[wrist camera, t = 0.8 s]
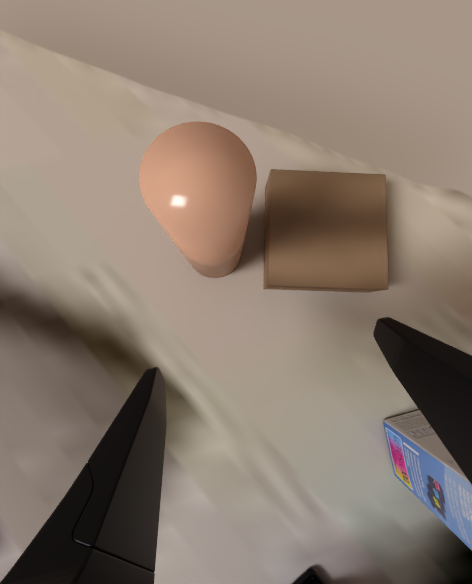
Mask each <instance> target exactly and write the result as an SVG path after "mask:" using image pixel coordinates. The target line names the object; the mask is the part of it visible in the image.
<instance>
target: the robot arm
mask: <svg viewBox="0 0 472 584" xmlns="http://www.w3.org/2000/svg"><path fill="white" fill-rule="evenodd" d="M374 338H375V340H376V342H377V344H378V346H379V347H380V349H381V351H382V353H383V355H384V356H385V358H386V360H387V362H388V364H389V366H390V367H391V369H392V371H393V372H394V374H395V375H396V377H397V378H398V380H399V381H400V382H401V384H402V385H403V387H404V388H405V390H406V391H407V393H408V394H409V395H410V397H411V398H412V400H413V401H414V403H415V404H416V405H417V407H418V408H419V410H420V411H421V413H422V414H423V416H424V417H425V418H426V420H427V421H428V423H429V424H430V426H431V427H432V429H433V430H434V431H435V433H436V434H437V436H438V437H439V439H440V440H441V441H442V443H443V444H444V446H445V447H446V449H447V450H448V452H449V453H450V454H451V456H452V457H453V459H454V460H455V462H456V463H457V464H458V466H459V467H460V469H461V470H462V472H463V473H464V475H465V476H466V477H467V479H468V480H469V482H470V483H471V485H472V356H471V355H469V354H467V353H465V352H463V351H460V350H458V349H456V348H454V347H452V346H450V345H448V344H445V343H443V342H441V341H439V340H437V339H435V338H433V337H430V336H428V335H426V334H424V333H422V332H420V331H417V330H415V329H413V328H411V327H409V326H407V325H405V324H402V323H400V322H398V321H396V320H394V319H392V318H389V317H385V318H381V319H378V320H377V322H376V326H375V329H374ZM165 437H166V389H165V380H164V377H163V375H162V373H161V371H160V369H159V368H158V367H153V368H148V369H147V370H146V371H145V372H144V374H143V376H142V377H141V379H140V380H139V382H138V383H137V385H136V387H135V388H134V390H133V391H132V393H131V394H130V396H129V397H128V399H127V401H126V402H125V404H124V405H123V407H122V408H121V410H120V412H119V413H118V415H117V416H116V418H115V419H114V421H113V422H112V424H111V426H110V427H109V429H108V430H107V432H106V433H105V435H104V437H103V438H102V440H101V441H100V443H99V444H98V446H97V447H96V449H95V451H94V452H93V454H92V455H91V457H90V458H89V460H88V463H86V465H85V466H84V468H83V469H82V471H81V472H80V474H79V475H78V477H77V478H76V480H75V481H74V483H73V484H72V486H71V487H70V489H69V490H68V492H67V493H66V495H65V496H64V498H63V499H62V501H61V502H60V503H59V505H58V506H57V508H56V509H55V510H54V512H53V513H52V515H51V516H50V517H49V519H48V520H47V521H46V523H45V524H44V525H43V527H42V528H41V529H40V531H39V532H38V533H37V535H36V536H35V538H34V539H33V540H32V542H31V543H30V544H29V546H28V547H27V548H26V550H25V551H24V552H23V554H22V555H21V556H20V558H19V559H18V560H17V562H16V563H15V565H14V566H13V567H12V568H11V570H10V571H9V572H8V574H7V575H6V576H5V577H4V579H3V580H2V581H1V582H0V584H154V571H155V561H156V548H157V536H158V523H159V511H160V499H161V486H162V474H163V461H164V449H165ZM312 577H314V578H313V579H311V578H312ZM294 584H325V583H324V582H323V580H322V579H321V578H320V576H319V575H318V574H317V572H316V571H315V570H313V569H310V570H308V571H307V572H306V573H305V574H304V575H303V576H301V577H300V578H299V579H298V580H297V581H296V582H295V583H294Z"/></svg>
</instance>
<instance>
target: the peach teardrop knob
mask: <svg viewBox="0 0 472 584" xmlns="http://www.w3.org/2000/svg"><path fill="white" fill-rule="evenodd" d="M256 180H257V175H256V167H255V163H254V160H253V158H252V155H251V153H250V151H249V150H248V148H247V147H246V145H245V144H244V143H243V142H242V141H241V139H240V138H239V137H237V136H236V135H235V134H234V133H232V132H231V131H229V130H227V129H225V128H223V127H221V126H219V125H216V124H212V123H207V122H188V123H183V124H180V125H176V126H174V127H172V128H170V129H168V130H166V131H165V132H163V133H162V134H160V135H159V136H158V137H157V138H156V139H155V140H154V141H153V142H152V143H151V144H150V146H149V147H148V149H147V150H146V152H145V154H144V156H143V159H142V162H141V166H140V172H139V184H140V189H141V193H142V196H143V199H144V201H145V203H146V205H147V206H148V208H149V209H150V210H151V212H152V213H153V215H154V216H155V217H156V219H157V220H158V221H159V223H160V224H161V225H162V227H163V228H164V229H165V231H166V232H167V233H168V235H169V236H170V237H171V239H172V240H173V241H174V243H175V244H176V245H177V247H178V248H179V249H180V251H181V252H182V253H183V255H184V256H185V257H186V259H187V260H188V261H189V263H190V264H191V265H192V267H193V268H194V269H195V270H196V271H197V272H198V273H200V274H201V275H203V276H205V277H209V278H220V277H223V276H226V275H228V274H229V273H231V272H232V271H233V270H234V269H235V268H236V266H237V265H238V263H239V260H240V257H241V252H242V248H243V243H244V239H245V234H246V230H247V225H248V221H249V216H250V211H251V207H252V202H253V198H254V193H255V188H256Z"/></svg>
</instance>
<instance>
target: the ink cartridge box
mask: <svg viewBox="0 0 472 584" xmlns="http://www.w3.org/2000/svg"><path fill="white" fill-rule="evenodd" d="M383 423H384V428H385V432H386V437H387V442H388V446H389V451H390V456H391V460H392V465H393V469H394V473H395V476H396V477H397V478H398V479H399V480H400V481H401V482H402V483H403V484H404V485H405V486H406V487H407V488H408V489H409V490H410V491H411V492H412V493H413V494H414V495H415V496H417V497H418V498H419V499H420V500H421V501H422V503H424V504H425V505H426V506H427V507H428V508H429V509H430V510H431V511H432V512H433V513H434V514H435V515H436V516H437V517H438V518H439V519H440V520H441V521H442V522H443V523H444V524H445V525H446V526H447V527H448V528H449V529H450V530H451V531H452V532H453V533H454V534H455V535H456V536H457V537H458V538H459V539H460V540H461V541H462V542H464V543H465V544H466V545H467V546H468V547H469V548H470V549H471V550H472V485H471V483H470V482H469V480H468V479H467V477H466V476H465V475H464V473H463V472H462V470H461V469H460V467H459V466H458V464H457V463H456V462H455V460H454V459H453V457H452V456H451V454H450V453H449V452H448V450H447V449H446V447H445V446H444V444H443V443H442V441H441V440H440V439H439V437H438V436H437V434H436V433H435V431H434V430H433V429H432V427H431V426H430V424H429V423H428V421H427V420H426V418H425V417H424V416H423V414H422V413H421V411H420V410H418V411H415V412H411V413H407V414H404V415H400V416H397V417H393V418H389V419H385V420H384V421H383Z"/></svg>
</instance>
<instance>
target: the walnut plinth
mask: <svg viewBox="0 0 472 584" xmlns="http://www.w3.org/2000/svg"><path fill="white" fill-rule="evenodd" d="M264 289H282V290H312V291H343V292H373V291H380V290H386V289H388V258H387V218H386V177H385V175H382V174H361V173H340V172H318V171H297V170H276V169H271V170H270V174H269V177H268V181H267V184H266V190H265V240H264Z"/></svg>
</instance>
